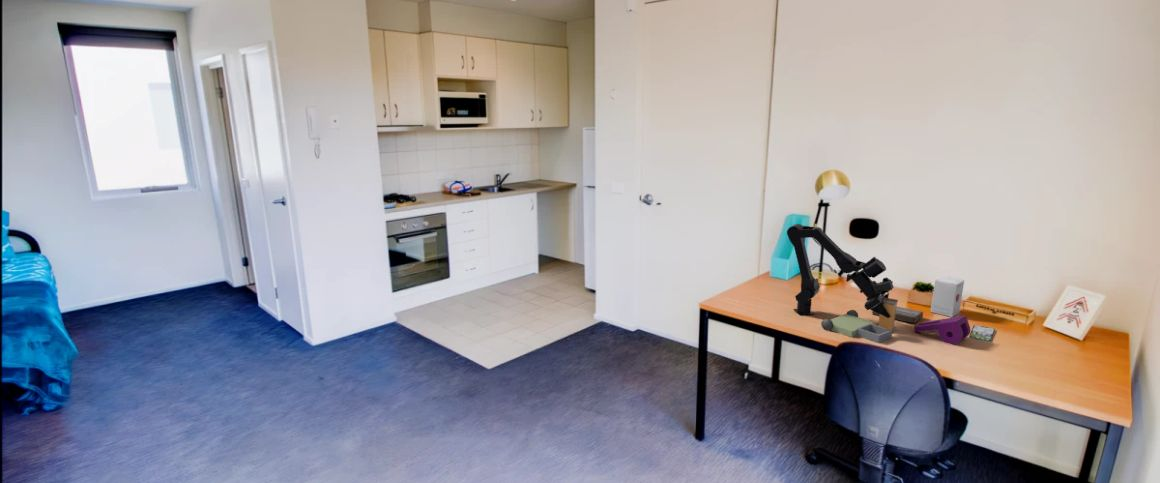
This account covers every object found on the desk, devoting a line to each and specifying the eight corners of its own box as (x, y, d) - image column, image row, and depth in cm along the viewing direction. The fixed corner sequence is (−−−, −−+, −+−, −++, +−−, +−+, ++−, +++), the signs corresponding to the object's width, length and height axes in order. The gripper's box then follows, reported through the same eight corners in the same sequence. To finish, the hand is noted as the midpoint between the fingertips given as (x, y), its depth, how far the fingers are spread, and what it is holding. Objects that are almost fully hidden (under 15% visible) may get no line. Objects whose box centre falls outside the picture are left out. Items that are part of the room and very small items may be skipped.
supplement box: (952, 317, 261) (957, 284, 258) (929, 312, 268) (934, 279, 264) (960, 312, 267) (965, 279, 263) (937, 307, 274) (942, 275, 270)
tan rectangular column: (876, 330, 249) (879, 301, 246) (879, 325, 253) (882, 297, 250) (892, 333, 246) (895, 303, 243) (894, 328, 250) (898, 299, 247)
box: (914, 324, 254) (915, 317, 253) (871, 314, 266) (872, 308, 265) (923, 318, 261) (924, 311, 260) (881, 309, 273) (881, 302, 272)
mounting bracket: (916, 348, 246) (963, 343, 231) (909, 328, 247) (956, 321, 232) (926, 342, 251) (973, 336, 237) (919, 322, 252) (965, 315, 238)
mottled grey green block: (968, 337, 241) (973, 324, 252) (968, 339, 241) (973, 326, 252) (991, 341, 236) (995, 328, 247) (990, 344, 237) (994, 331, 248)
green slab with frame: (820, 328, 251) (821, 318, 250) (848, 318, 262) (849, 308, 261) (871, 346, 234) (872, 335, 233) (898, 334, 244) (899, 324, 243)
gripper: (876, 278, 239) (904, 311, 235) (886, 267, 253) (912, 297, 250) (853, 294, 245) (879, 325, 242) (864, 282, 260) (889, 312, 256)
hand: (891, 314), depth 247 cm, fingers open, 7 cm apart
